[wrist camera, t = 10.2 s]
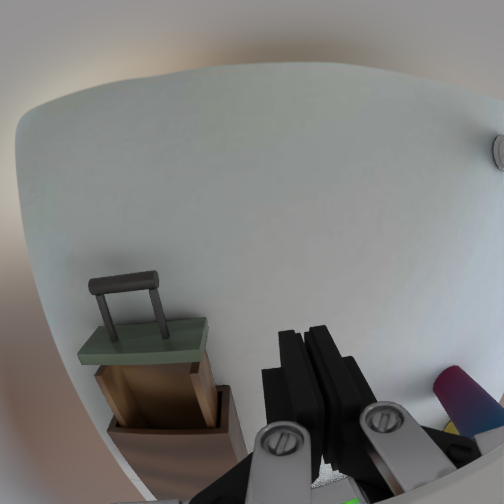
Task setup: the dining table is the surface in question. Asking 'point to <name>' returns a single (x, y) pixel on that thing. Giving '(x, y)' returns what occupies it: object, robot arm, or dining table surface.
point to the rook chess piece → (499, 152)
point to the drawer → (152, 363)
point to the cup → (467, 403)
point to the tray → (334, 493)
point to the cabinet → (183, 453)
